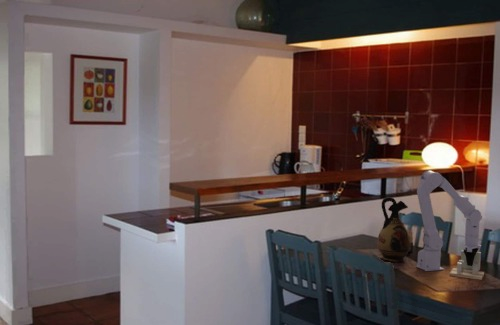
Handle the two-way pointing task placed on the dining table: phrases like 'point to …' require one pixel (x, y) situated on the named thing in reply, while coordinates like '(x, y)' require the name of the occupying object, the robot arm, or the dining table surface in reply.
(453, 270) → the hinge bracket
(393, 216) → the ceramic jug
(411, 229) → the ammunition clip
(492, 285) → the dining table surface
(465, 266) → the door
